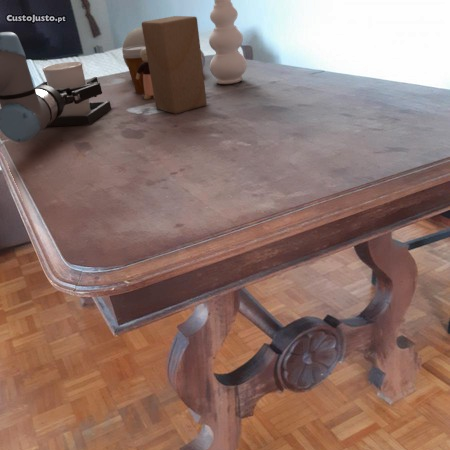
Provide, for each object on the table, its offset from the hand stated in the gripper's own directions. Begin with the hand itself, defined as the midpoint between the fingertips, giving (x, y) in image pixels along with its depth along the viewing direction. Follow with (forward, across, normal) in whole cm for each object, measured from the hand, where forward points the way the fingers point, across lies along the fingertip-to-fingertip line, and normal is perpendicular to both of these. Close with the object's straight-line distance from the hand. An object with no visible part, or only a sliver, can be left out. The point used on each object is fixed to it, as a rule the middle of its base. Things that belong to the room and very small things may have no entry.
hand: (71, 84), depth 124 cm
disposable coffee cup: (+21, +15, -8) cm, 27 cm away
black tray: (-3, 0, -7) cm, 8 cm away
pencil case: (+45, +25, -8) cm, 52 cm away
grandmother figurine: (+12, +18, -8) cm, 23 cm away
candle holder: (-3, 0, -7) cm, 8 cm away
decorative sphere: (+42, +12, -8) cm, 45 cm away
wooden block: (-2, +28, -8) cm, 30 cm away
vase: (+22, +40, -8) cm, 46 cm away
